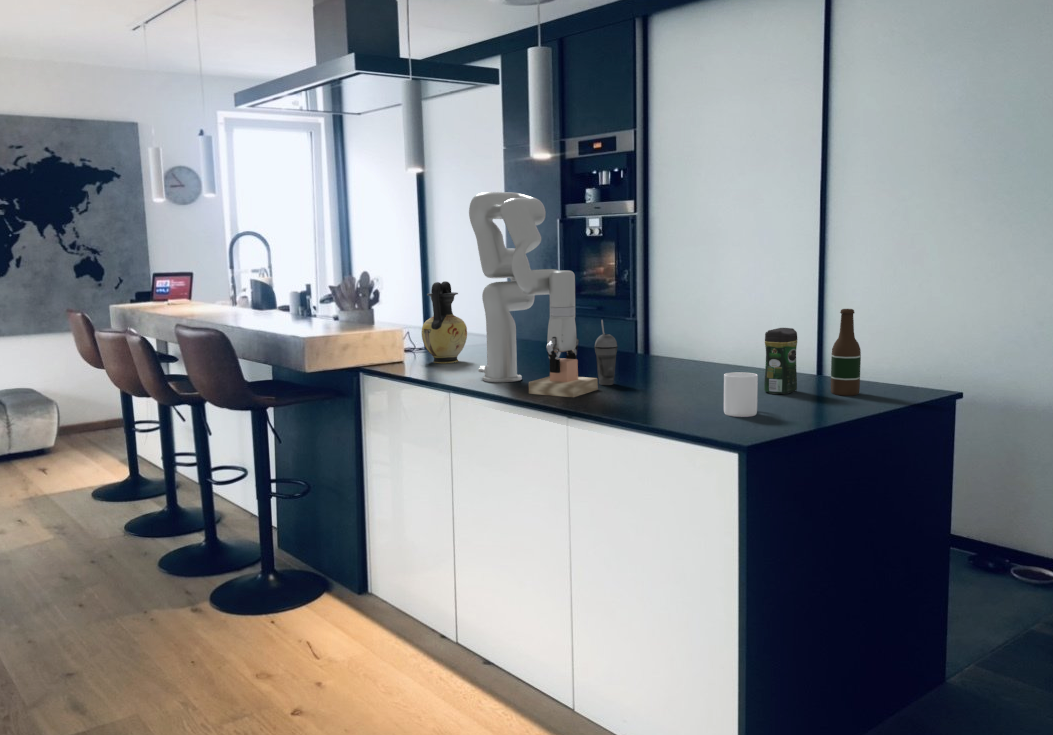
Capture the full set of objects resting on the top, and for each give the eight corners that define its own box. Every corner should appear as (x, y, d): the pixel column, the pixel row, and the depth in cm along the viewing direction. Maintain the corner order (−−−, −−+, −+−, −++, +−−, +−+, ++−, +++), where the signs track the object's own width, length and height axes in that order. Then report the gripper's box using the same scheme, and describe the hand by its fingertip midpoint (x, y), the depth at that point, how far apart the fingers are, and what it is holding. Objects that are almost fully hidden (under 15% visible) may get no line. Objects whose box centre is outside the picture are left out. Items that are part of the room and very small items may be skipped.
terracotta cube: (549, 380, 274) (549, 360, 273) (560, 377, 278) (560, 358, 278) (567, 382, 270) (566, 361, 269) (577, 379, 275) (577, 359, 274)
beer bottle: (859, 391, 264) (862, 308, 261) (859, 396, 257) (862, 310, 254) (830, 390, 267) (833, 307, 264) (830, 395, 260) (832, 310, 256)
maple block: (528, 395, 272) (528, 382, 272) (554, 387, 285) (554, 375, 285) (573, 399, 265) (573, 385, 264) (597, 391, 277) (597, 378, 277)
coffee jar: (776, 388, 273) (777, 325, 270) (800, 391, 267) (802, 327, 265) (759, 392, 266) (760, 328, 263) (784, 395, 261) (785, 330, 258)
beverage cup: (616, 385, 283) (616, 320, 280) (593, 385, 284) (592, 320, 282) (619, 382, 290) (618, 318, 287) (596, 381, 292) (595, 318, 289)
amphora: (427, 359, 355) (425, 280, 351) (471, 358, 354) (469, 280, 350) (418, 365, 338) (415, 283, 334) (463, 365, 336) (461, 282, 332)
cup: (718, 415, 235) (718, 375, 233) (737, 407, 244) (738, 369, 243) (748, 418, 230) (749, 377, 228) (767, 410, 239) (768, 371, 238)
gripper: (565, 310, 281) (566, 366, 283) (536, 314, 266) (537, 373, 269) (587, 310, 277) (588, 367, 279) (558, 315, 262) (559, 375, 265)
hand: (563, 370), depth 274 cm, fingers open, 9 cm apart
